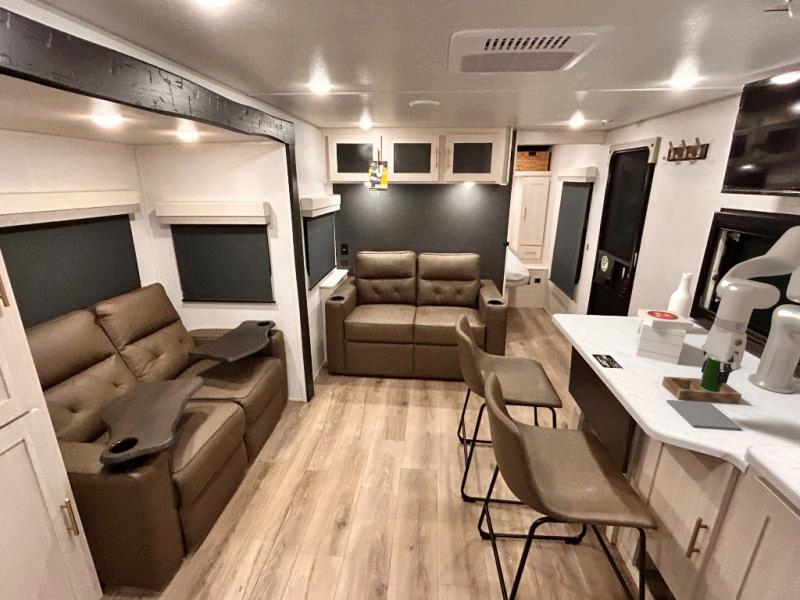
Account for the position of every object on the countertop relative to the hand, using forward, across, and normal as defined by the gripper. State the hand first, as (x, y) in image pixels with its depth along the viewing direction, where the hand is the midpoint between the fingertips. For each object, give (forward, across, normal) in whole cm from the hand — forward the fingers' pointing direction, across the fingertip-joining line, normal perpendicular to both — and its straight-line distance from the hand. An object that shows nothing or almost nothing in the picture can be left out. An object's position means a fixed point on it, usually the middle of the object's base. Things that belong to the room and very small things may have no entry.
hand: (713, 377), depth 119 cm
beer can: (+5, 0, 0) cm, 5 cm away
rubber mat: (+14, 0, 0) cm, 14 cm away
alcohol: (+14, +78, -36) cm, 87 cm away
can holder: (+14, +14, -8) cm, 21 cm away
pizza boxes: (+14, +52, -13) cm, 56 cm away
